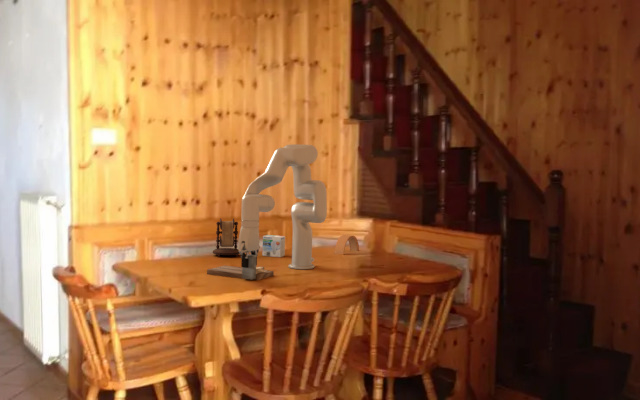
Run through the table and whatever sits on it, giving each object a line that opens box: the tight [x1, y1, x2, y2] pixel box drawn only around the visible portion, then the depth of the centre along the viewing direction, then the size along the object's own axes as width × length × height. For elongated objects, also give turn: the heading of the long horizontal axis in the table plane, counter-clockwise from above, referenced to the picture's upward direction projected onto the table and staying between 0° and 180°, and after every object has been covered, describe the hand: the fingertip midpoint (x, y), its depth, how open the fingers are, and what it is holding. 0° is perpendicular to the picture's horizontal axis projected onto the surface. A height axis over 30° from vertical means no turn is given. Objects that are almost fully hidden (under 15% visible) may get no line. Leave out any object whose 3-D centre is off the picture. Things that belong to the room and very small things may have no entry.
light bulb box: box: [262, 234, 286, 258], centre depth 357 cm, size 11×7×11 cm, turn 73°
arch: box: [334, 234, 360, 255], centre depth 378 cm, size 6×20×10 cm, turn 150°
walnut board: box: [206, 265, 275, 281], centre depth 297 cm, size 14×26×2 cm, turn 64°
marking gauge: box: [241, 253, 265, 280], centre depth 289 cm, size 12×5×10 cm, turn 154°
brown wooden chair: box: [212, 217, 240, 258], centre depth 352 cm, size 15×15×20 cm
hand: (249, 266), depth 284 cm, fingers open, 6 cm apart
